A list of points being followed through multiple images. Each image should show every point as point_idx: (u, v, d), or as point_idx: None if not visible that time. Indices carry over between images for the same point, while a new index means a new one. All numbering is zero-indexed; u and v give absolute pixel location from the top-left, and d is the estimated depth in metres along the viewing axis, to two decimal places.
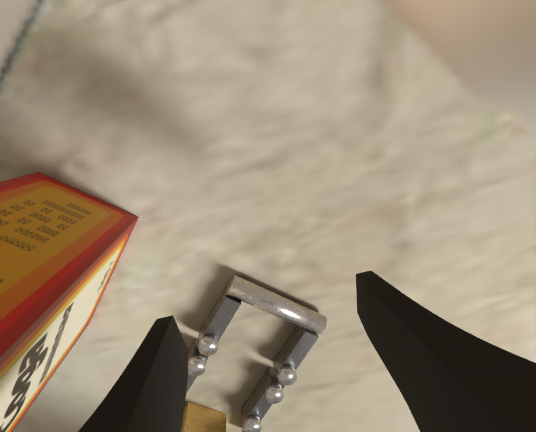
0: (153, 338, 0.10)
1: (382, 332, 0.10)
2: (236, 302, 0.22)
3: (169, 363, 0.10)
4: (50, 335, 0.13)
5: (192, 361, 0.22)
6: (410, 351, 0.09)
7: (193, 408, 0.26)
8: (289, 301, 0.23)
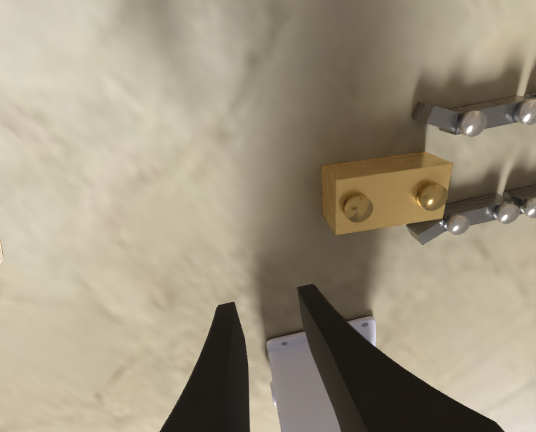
0: (222, 322, 0.10)
1: (316, 347, 0.10)
2: None
3: (238, 347, 0.10)
4: None
5: None
6: (332, 370, 0.08)
7: None
8: None
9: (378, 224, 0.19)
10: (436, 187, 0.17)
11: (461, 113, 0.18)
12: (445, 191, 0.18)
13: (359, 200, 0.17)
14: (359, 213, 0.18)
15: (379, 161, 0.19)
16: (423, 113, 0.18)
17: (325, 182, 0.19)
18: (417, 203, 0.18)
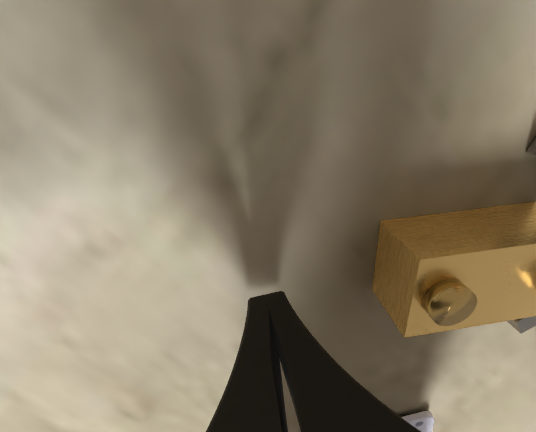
0: (258, 314, 0.10)
1: (281, 356, 0.10)
2: None
3: (273, 339, 0.10)
4: None
5: None
6: (290, 380, 0.08)
7: None
8: None
9: (472, 321, 0.12)
10: None
11: None
12: None
13: (457, 294, 0.10)
14: (453, 313, 0.10)
15: (474, 218, 0.12)
16: None
17: (387, 248, 0.12)
18: None
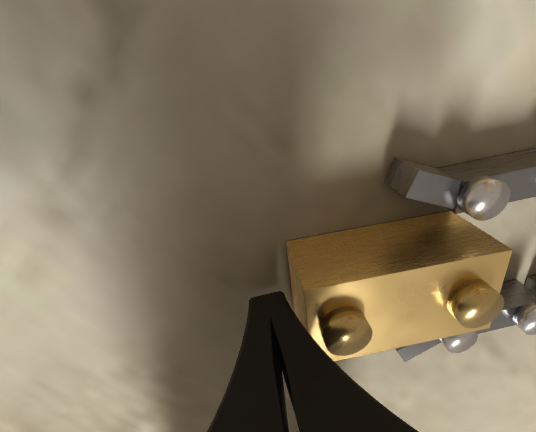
0: (259, 314, 0.10)
1: (280, 356, 0.10)
2: None
3: (274, 339, 0.10)
4: None
5: None
6: (288, 380, 0.08)
7: None
8: None
9: (382, 345, 0.11)
10: (484, 294, 0.10)
11: (465, 180, 0.10)
12: (500, 299, 0.10)
13: (347, 324, 0.10)
14: (348, 342, 0.10)
15: (382, 237, 0.12)
16: (401, 178, 0.11)
17: (292, 272, 0.12)
18: (448, 312, 0.11)
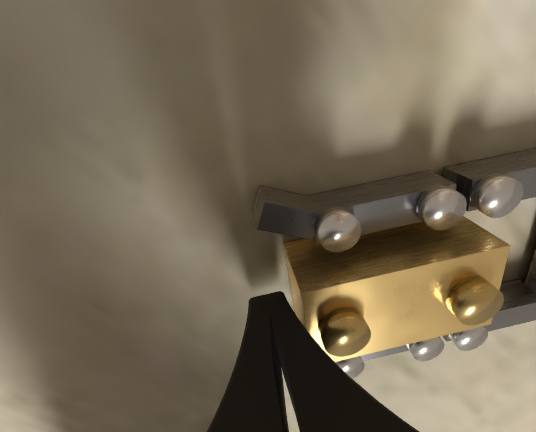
0: (258, 314, 0.10)
1: (280, 356, 0.10)
2: None
3: (274, 339, 0.10)
4: None
5: (460, 195, 0.10)
6: None
7: None
8: None
9: (383, 345, 0.11)
10: (483, 291, 0.10)
11: (320, 211, 0.10)
12: (499, 295, 0.10)
13: (345, 325, 0.10)
14: (347, 343, 0.10)
15: (379, 236, 0.12)
16: (258, 209, 0.10)
17: (291, 274, 0.12)
18: (448, 310, 0.11)
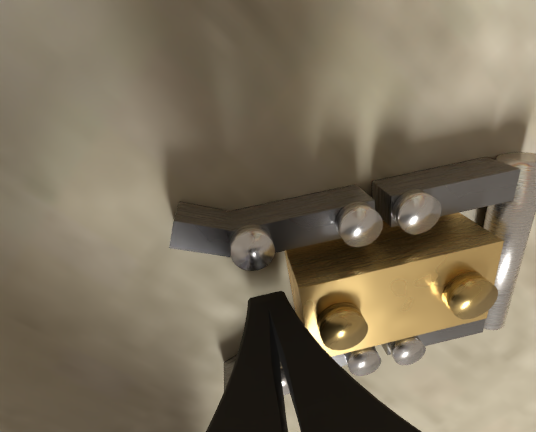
0: (257, 314, 0.10)
1: (281, 356, 0.10)
2: (514, 191, 0.11)
3: (273, 339, 0.10)
4: None
5: (374, 212, 0.10)
6: (289, 380, 0.08)
7: None
8: None
9: (380, 339, 0.11)
10: (477, 285, 0.10)
11: (235, 229, 0.10)
12: (493, 289, 0.10)
13: (342, 320, 0.10)
14: (345, 337, 0.10)
15: None
16: None
17: (290, 271, 0.12)
18: (444, 304, 0.11)
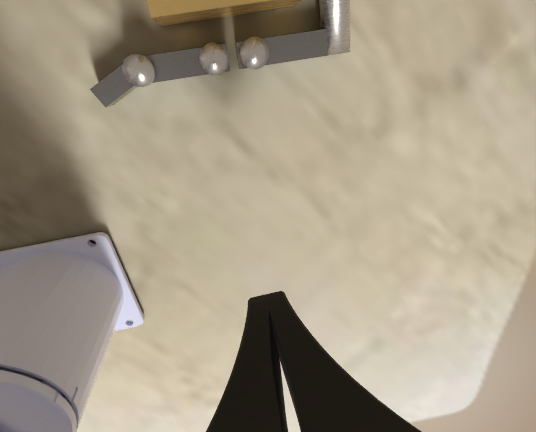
0: (258, 314, 0.10)
1: (281, 356, 0.10)
2: None
3: (273, 339, 0.10)
4: None
5: None
6: (290, 380, 0.08)
7: None
8: None
9: (212, 0, 0.13)
10: None
11: None
12: None
13: None
14: None
15: None
16: None
17: None
18: None
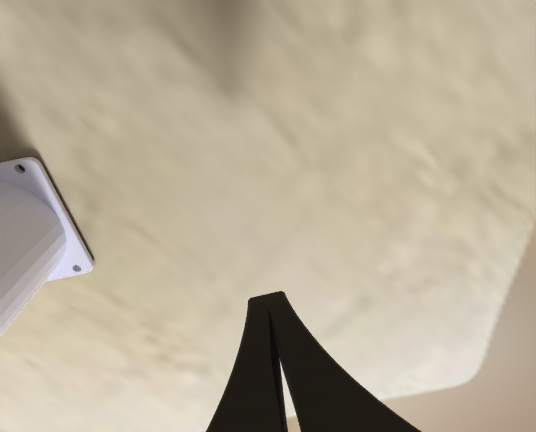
0: (257, 314, 0.10)
1: (281, 356, 0.10)
2: None
3: (273, 339, 0.10)
4: None
5: None
6: (289, 380, 0.08)
7: None
8: None
9: None
10: None
11: None
12: None
13: None
14: None
15: None
16: None
17: None
18: None
